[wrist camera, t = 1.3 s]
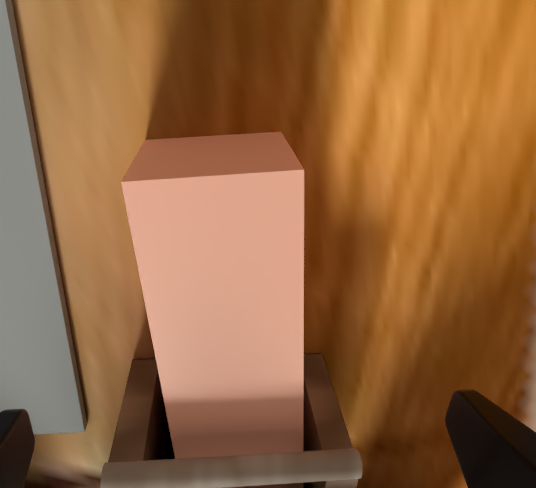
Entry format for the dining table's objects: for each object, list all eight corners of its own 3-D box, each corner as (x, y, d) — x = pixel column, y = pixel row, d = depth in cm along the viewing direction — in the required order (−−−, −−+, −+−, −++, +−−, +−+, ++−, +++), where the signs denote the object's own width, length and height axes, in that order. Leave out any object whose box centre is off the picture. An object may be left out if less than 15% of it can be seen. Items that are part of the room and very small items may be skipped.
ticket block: (280, 130, 17) (304, 169, 12) (286, 438, 24) (303, 530, 20) (146, 138, 16) (121, 182, 12) (196, 448, 24) (192, 545, 20)
